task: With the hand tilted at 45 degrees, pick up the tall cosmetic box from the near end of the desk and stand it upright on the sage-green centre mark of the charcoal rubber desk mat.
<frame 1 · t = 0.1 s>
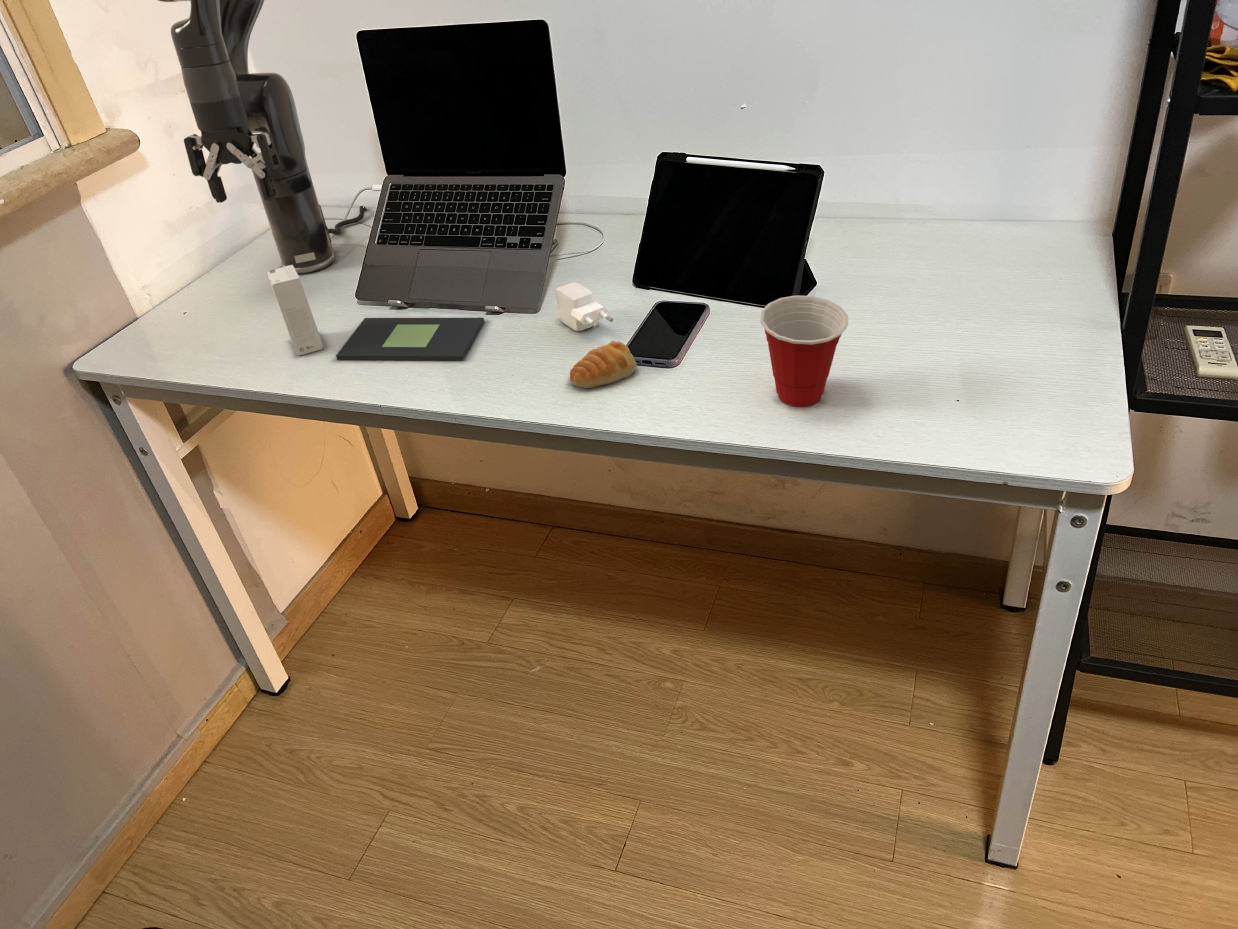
hand: (245, 200, 149), 17 cm above the table, tool pointing down, fingers open, 8 cm apart
cosmetic box: (307, 346, 144), on the table
plastic cup: (800, 397, 121), on the table
mat: (412, 340, 142), on the table
power adapter: (587, 330, 141), on the table
pastry: (605, 375, 129), on the table
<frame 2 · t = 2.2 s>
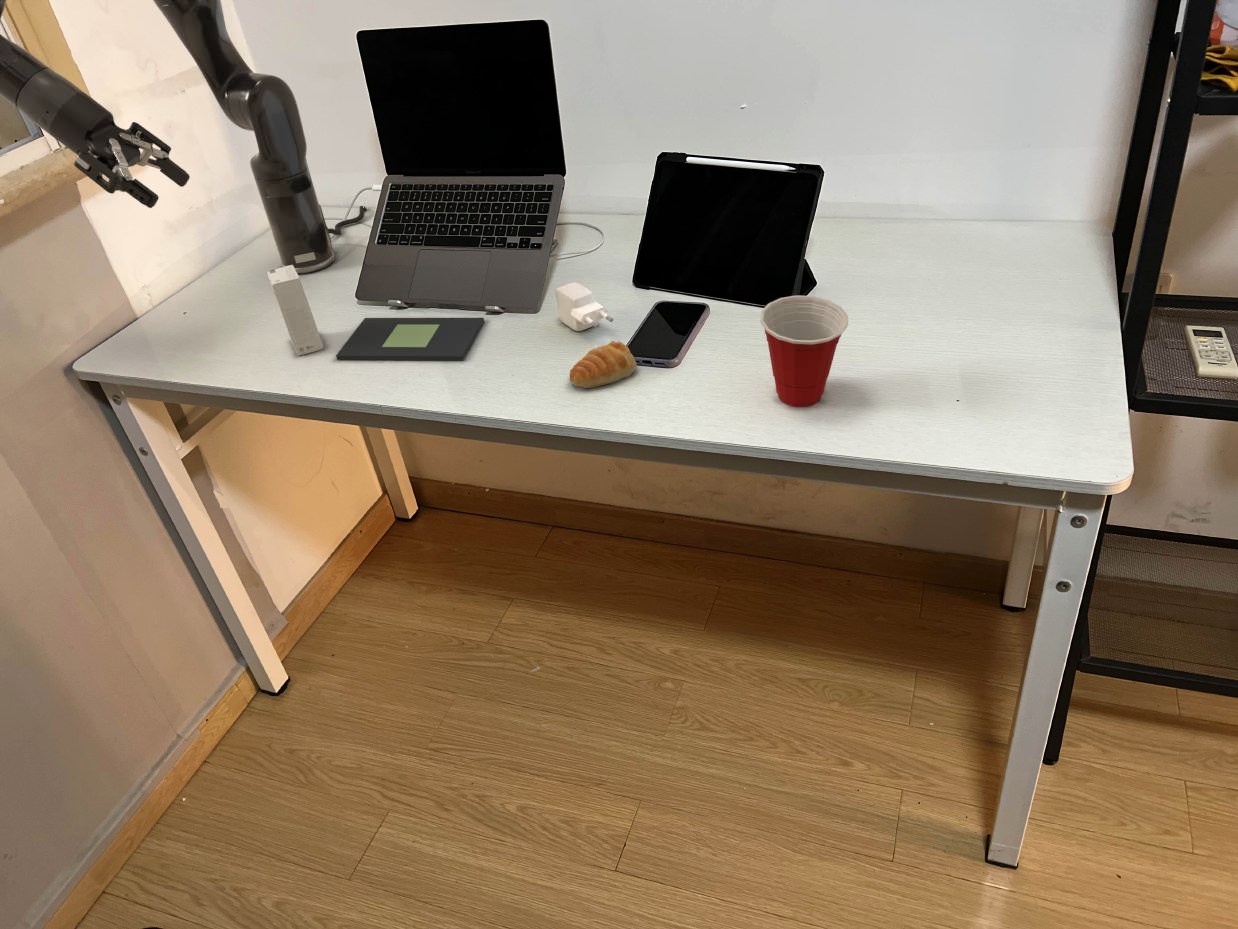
hand: (171, 192, 132), 25 cm above the table, tool tilted 45°, fingers open, 8 cm apart
nothing on the table moved.
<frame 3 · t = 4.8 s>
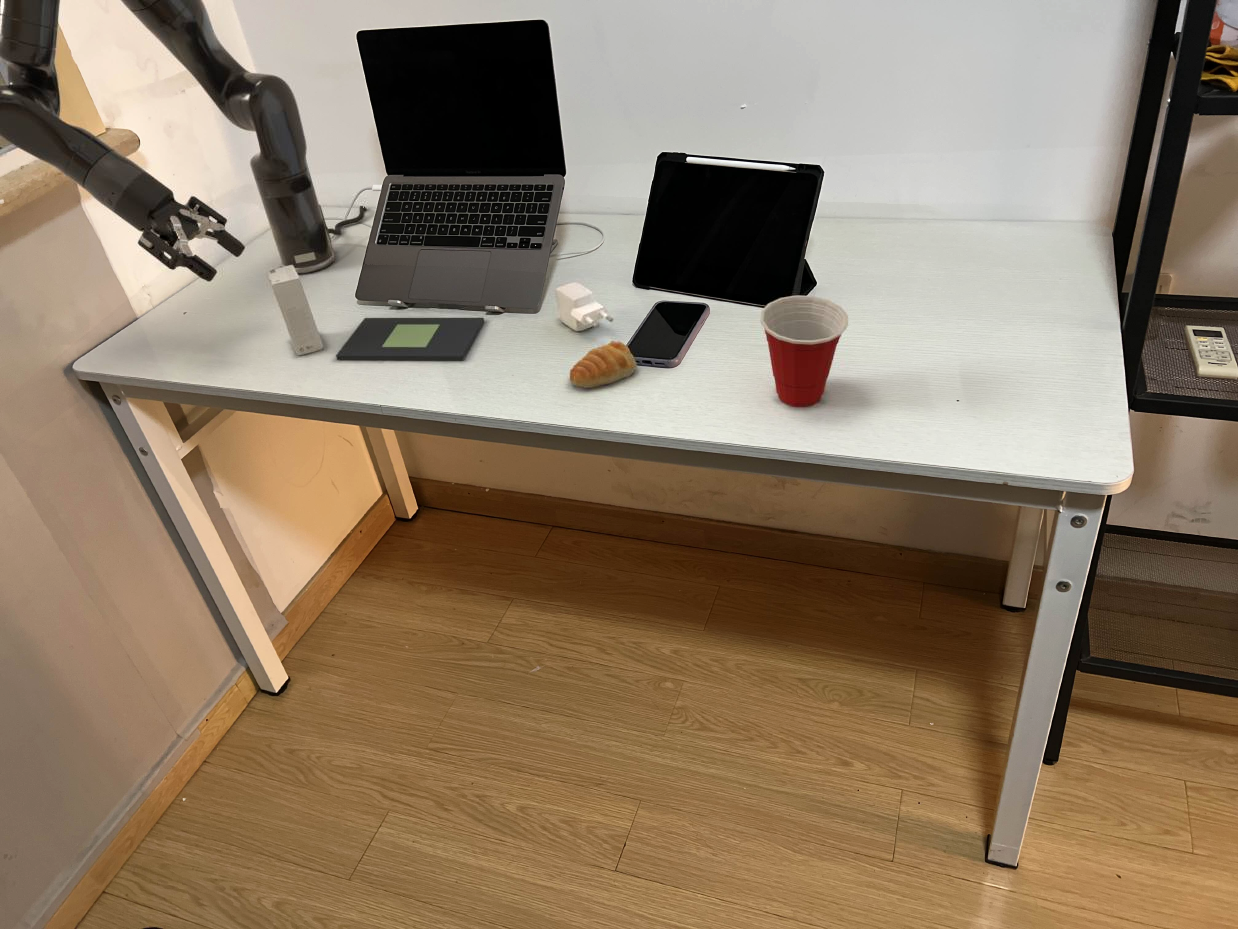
hand: (228, 264, 137), 14 cm above the table, tool tilted 45°, fingers open, 8 cm apart
nothing on the table moved.
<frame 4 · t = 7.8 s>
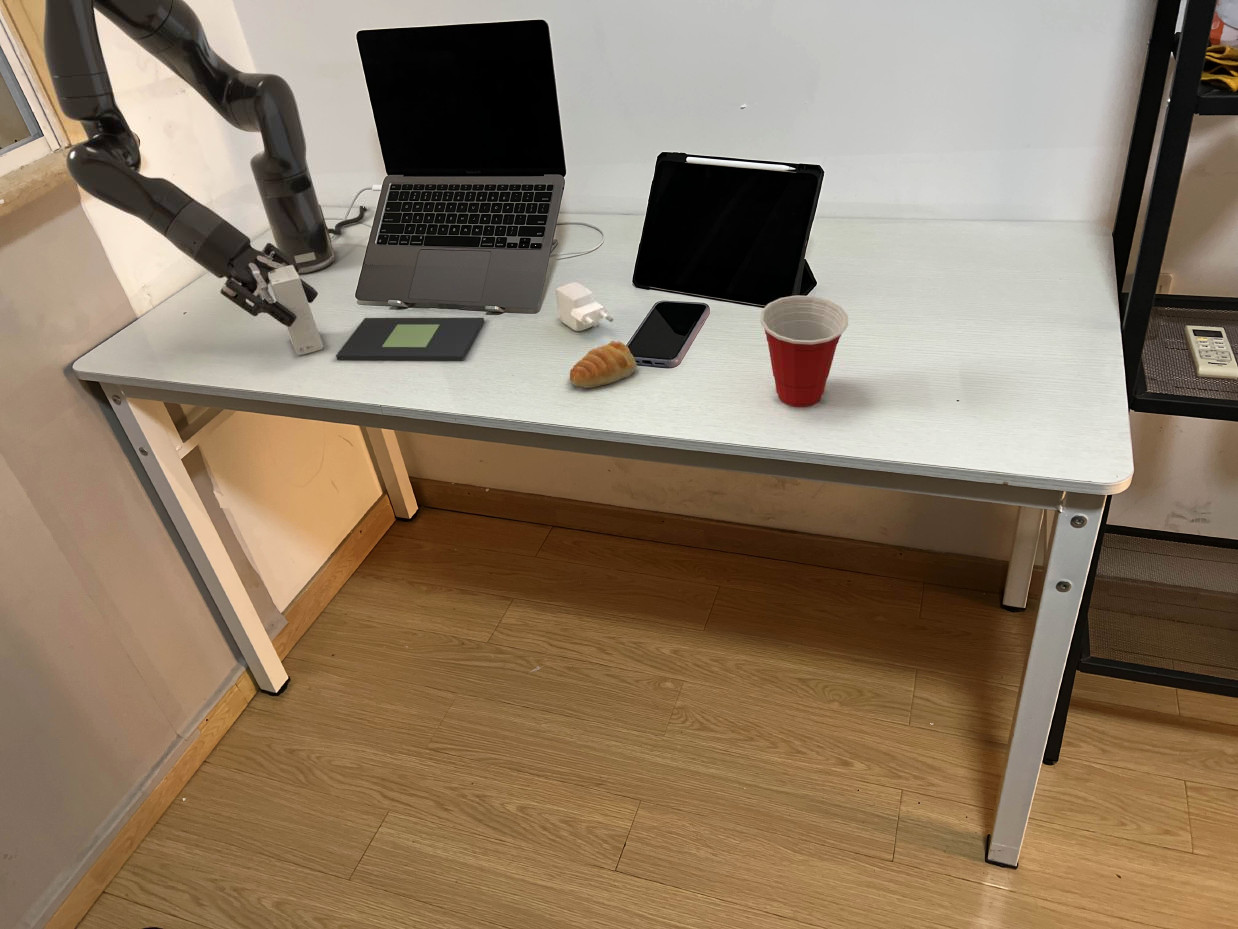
hand: (304, 309, 140), 6 cm above the table, tool tilted 45°, fingers closed on cosmetic box, 7 cm apart
cosmetic box: (307, 346, 144), on the table, touching gripper
everything else where it was.
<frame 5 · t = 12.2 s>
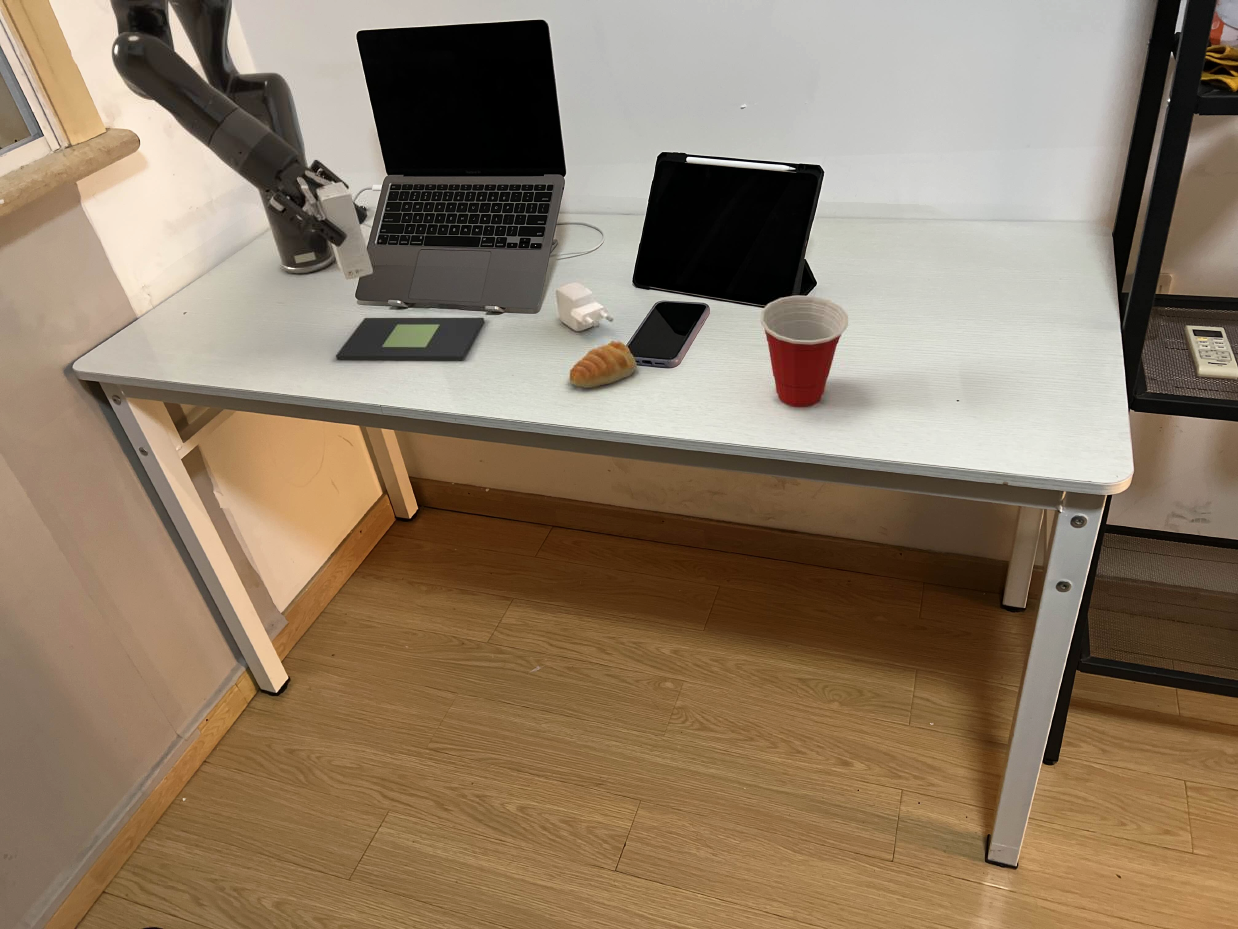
hand: (353, 230, 132), 18 cm above the table, tool tilted 45°, fingers closed on cosmetic box, 7 cm apart
cosmetic box: (355, 271, 136), point 12 cm above the table, touching gripper
everything else where it was.
when the fingers open (7 cm above the table, at t = 16.7 s): cosmetic box stays where it is, resting on mat.
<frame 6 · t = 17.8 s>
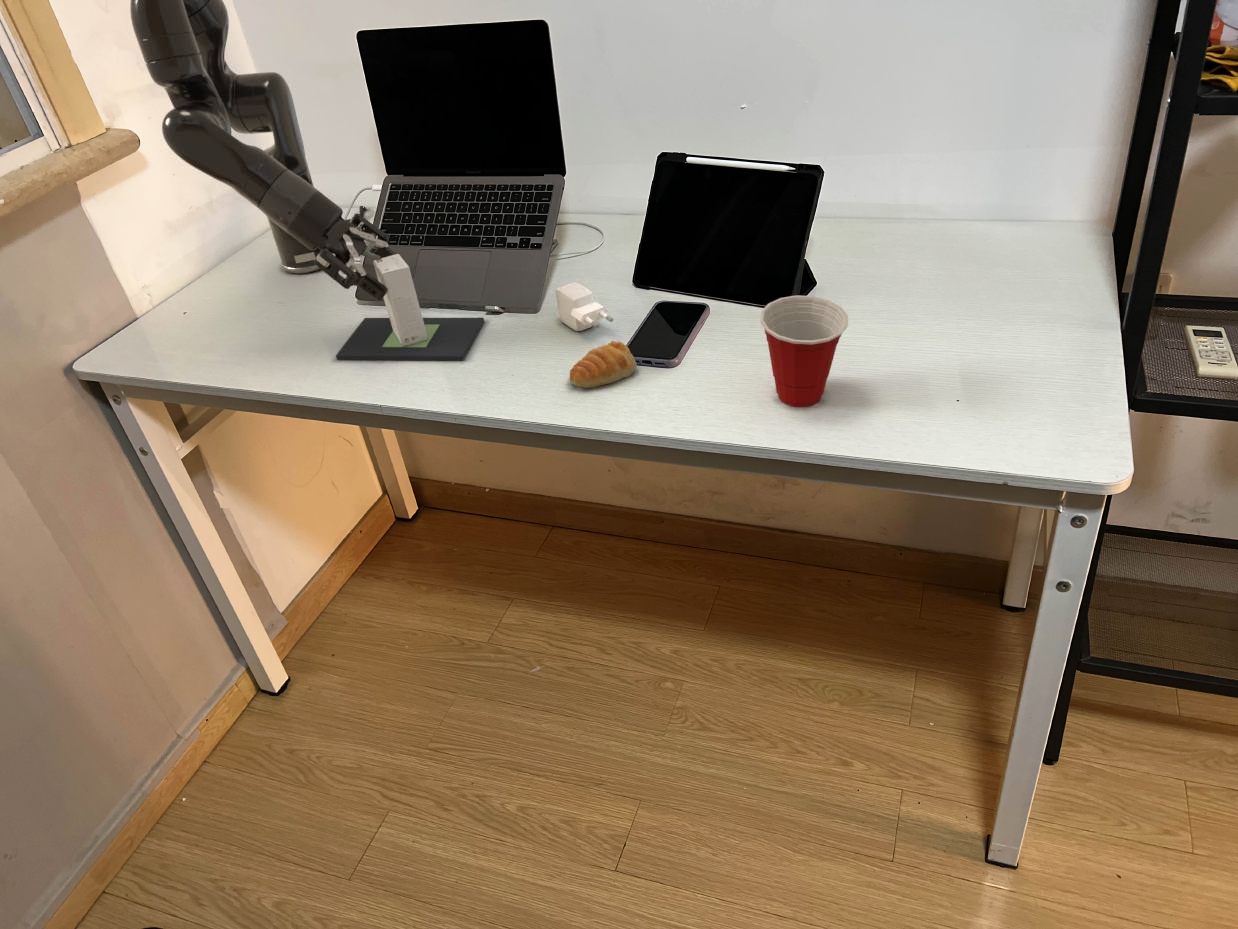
hand: (394, 282, 137), 10 cm above the table, tool tilted 45°, fingers open, 8 cm apart
cosmetic box: (409, 336, 142), point 1 cm above the table, touching mat
everything else where it was.
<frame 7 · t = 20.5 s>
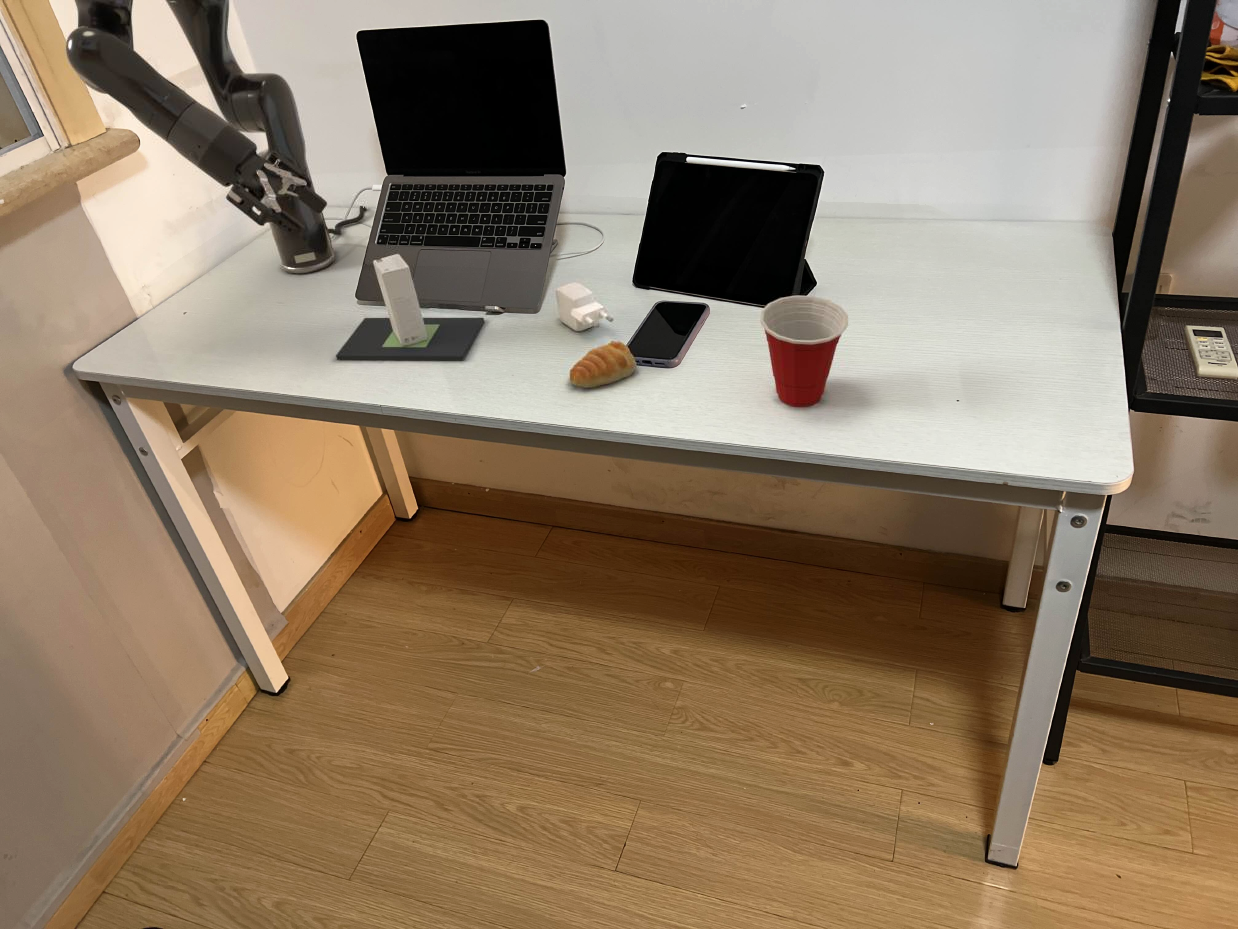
hand: (313, 220, 134), 19 cm above the table, tool tilted 45°, fingers open, 8 cm apart
nothing on the table moved.
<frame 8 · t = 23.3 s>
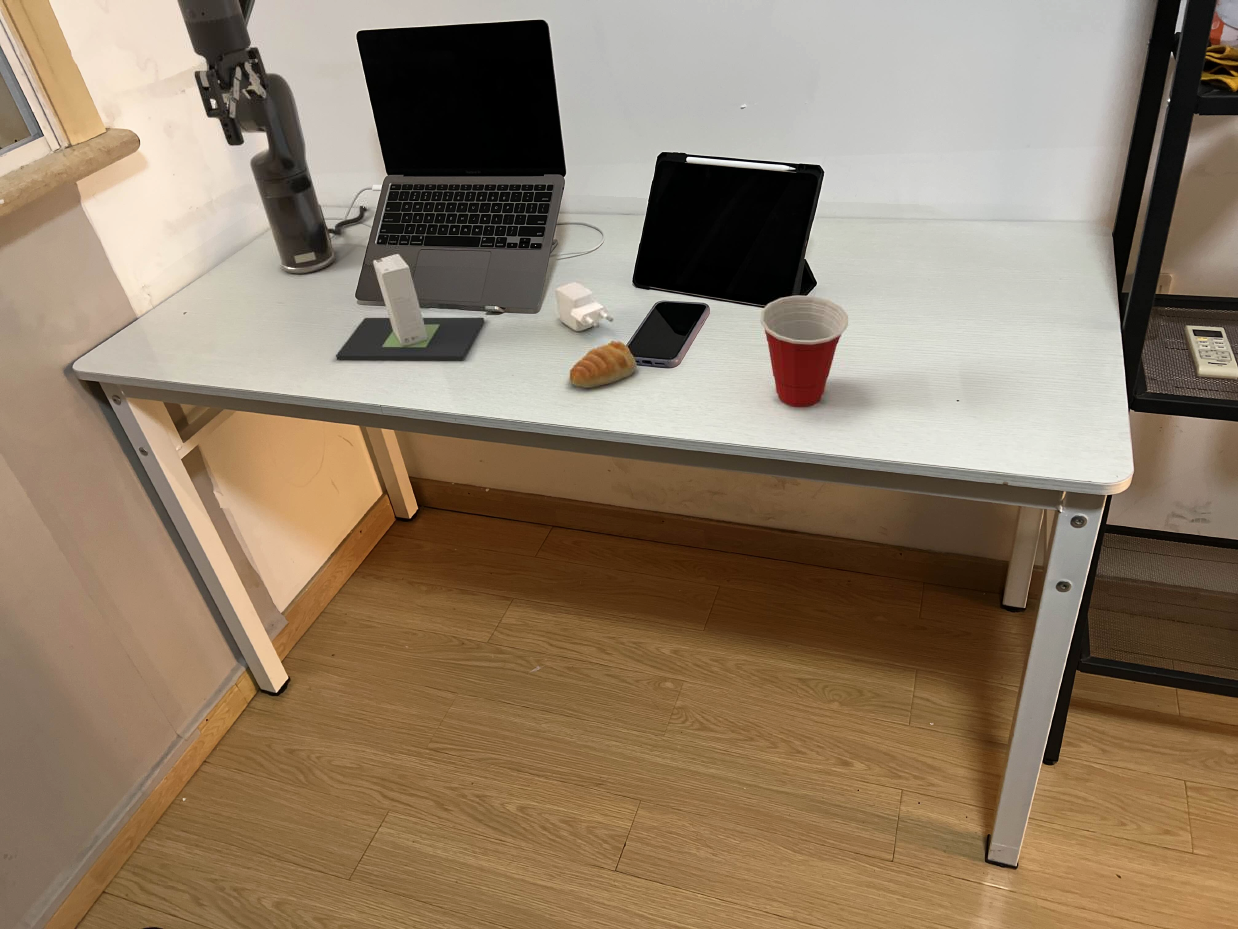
hand: (251, 135, 133), 30 cm above the table, tool pointing down, fingers open, 8 cm apart
nothing on the table moved.
at the end: cosmetic box inside the target area on the mat (0.2 cm from its centre), point 0.7 cm above the mat's base; cosmetic box tilted 0°; the gripper is holding nothing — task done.
